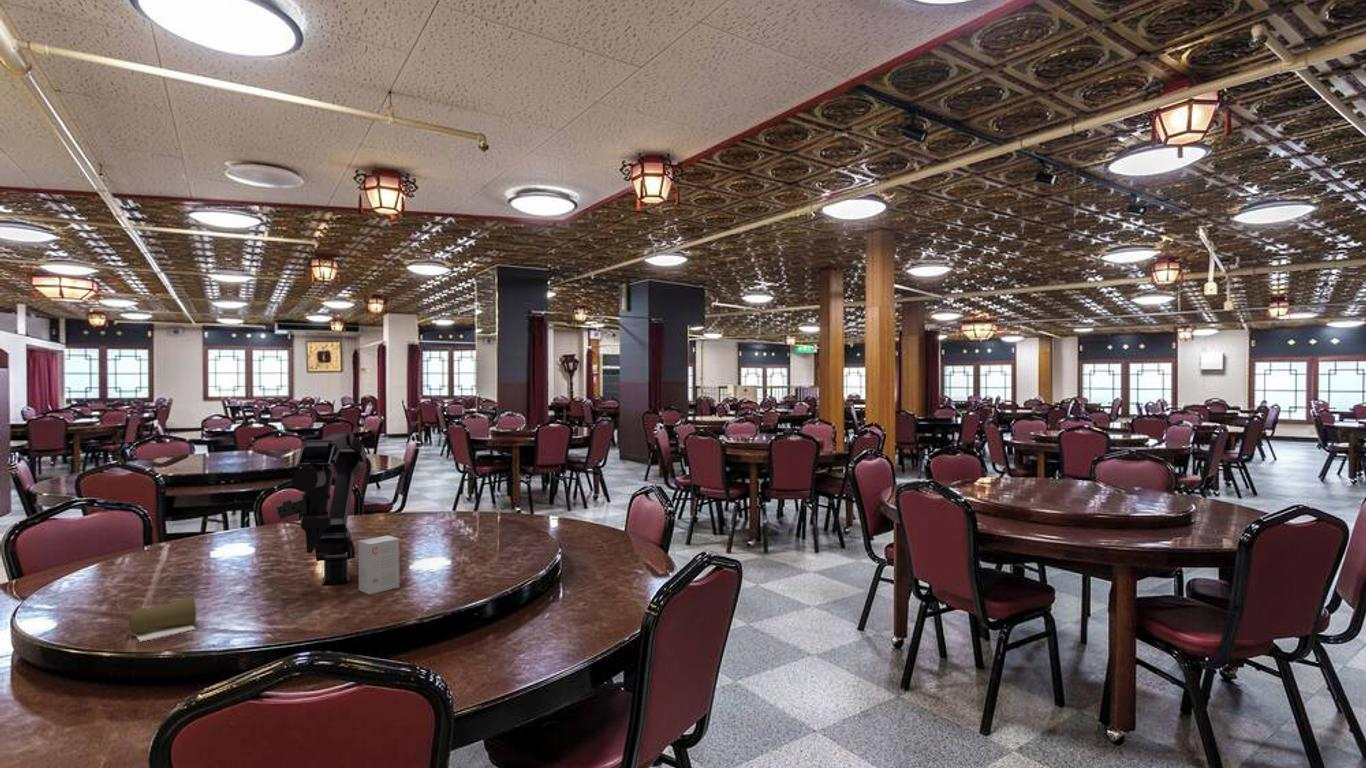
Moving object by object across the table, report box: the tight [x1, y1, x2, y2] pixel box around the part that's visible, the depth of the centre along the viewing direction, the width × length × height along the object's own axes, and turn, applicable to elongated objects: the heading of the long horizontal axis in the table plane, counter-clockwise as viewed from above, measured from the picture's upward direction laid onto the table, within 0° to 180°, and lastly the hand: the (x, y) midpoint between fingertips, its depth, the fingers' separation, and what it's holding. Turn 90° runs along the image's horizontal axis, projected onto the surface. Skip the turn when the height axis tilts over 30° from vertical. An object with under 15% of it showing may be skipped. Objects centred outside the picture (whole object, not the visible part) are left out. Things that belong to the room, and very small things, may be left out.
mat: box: [133, 624, 197, 643], centre depth 145 cm, size 10×10×1 cm
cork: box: [128, 596, 197, 635], centre depth 145 cm, size 6×6×11 cm
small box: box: [357, 535, 400, 595], centre depth 174 cm, size 8×6×13 cm
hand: (309, 552), depth 166 cm, fingers closed
